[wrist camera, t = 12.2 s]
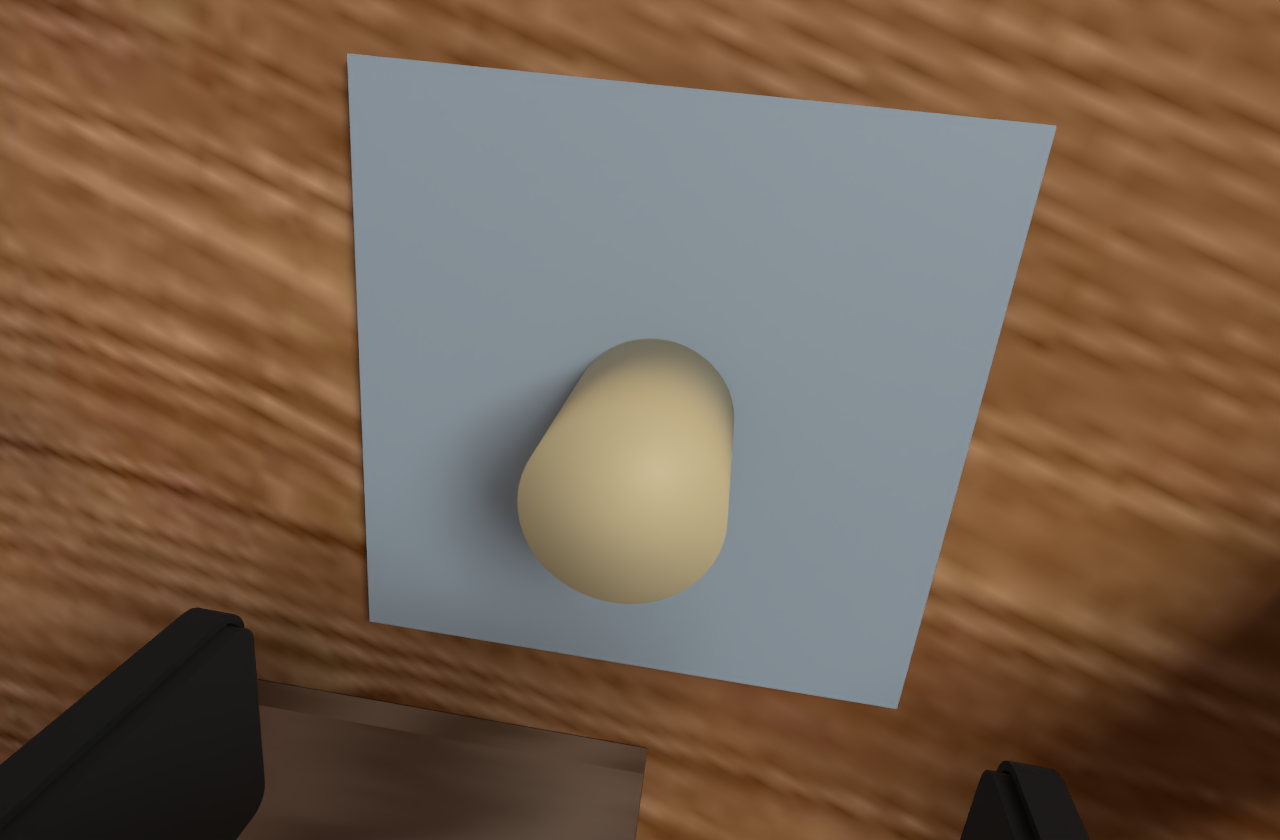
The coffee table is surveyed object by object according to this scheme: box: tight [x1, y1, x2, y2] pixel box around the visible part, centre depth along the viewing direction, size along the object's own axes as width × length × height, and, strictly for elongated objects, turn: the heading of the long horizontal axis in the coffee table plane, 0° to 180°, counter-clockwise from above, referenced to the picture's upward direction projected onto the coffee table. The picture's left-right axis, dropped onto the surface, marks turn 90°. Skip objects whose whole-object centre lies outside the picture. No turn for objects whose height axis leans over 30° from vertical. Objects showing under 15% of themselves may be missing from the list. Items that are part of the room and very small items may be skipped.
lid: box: [347, 53, 1057, 709], centre depth 18 cm, size 15×15×6 cm
